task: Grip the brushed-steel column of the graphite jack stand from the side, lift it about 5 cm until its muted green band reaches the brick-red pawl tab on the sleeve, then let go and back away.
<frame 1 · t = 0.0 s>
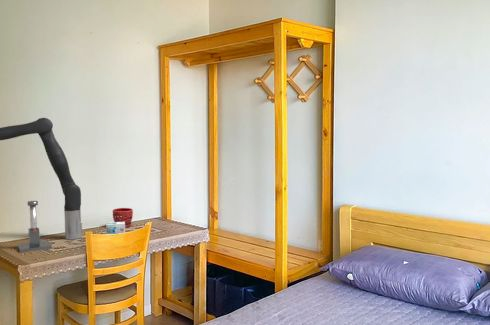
jack column: (33, 222, 258), point 14 cm above the table, slide at 0.0 cm
light bulb box: (116, 241, 272), on the table
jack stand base: (34, 247, 259), on the table
plant pot: (123, 227, 312), on the table
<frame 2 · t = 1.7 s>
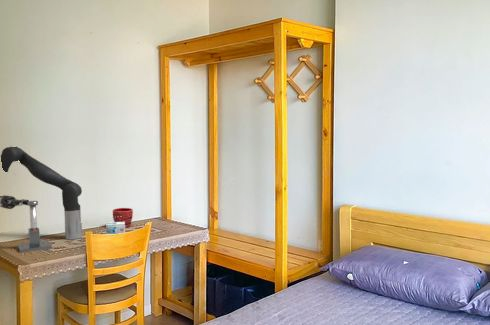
hand: (21, 204, 264), 23 cm above the table, tool horizontal, fingers open, 8 cm apart
nothing on the table moved.
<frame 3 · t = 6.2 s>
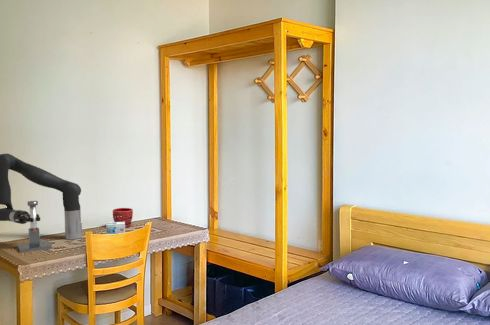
hand: (36, 219, 256), 16 cm above the table, tool horizontal, fingers closed on jack column, 3 cm apart
jack column: (33, 222, 258), point 14 cm above the table, slide at 0.0 cm, touching gripper
everything else where it was.
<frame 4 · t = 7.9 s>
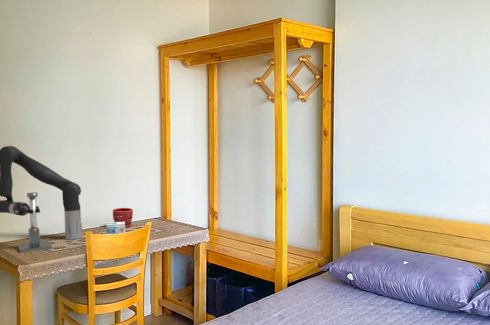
hand: (35, 211, 256), 21 cm above the table, tool horizontal, fingers closed on jack column, 3 cm apart
jack column: (33, 214, 258), point 19 cm above the table, slide at 4.7 cm, touching gripper
everything else where it was.
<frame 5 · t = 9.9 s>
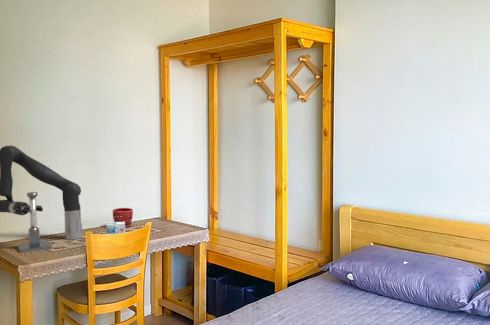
hand: (34, 210, 256), 21 cm above the table, tool horizontal, fingers open, 8 cm apart
jack column: (33, 214, 258), point 19 cm above the table, slide at 4.9 cm
everything else where it was.
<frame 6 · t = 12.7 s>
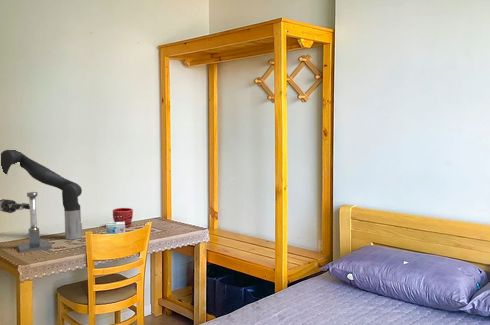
hand: (22, 208, 264), 21 cm above the table, tool horizontal, fingers open, 8 cm apart
nothing on the table moved.
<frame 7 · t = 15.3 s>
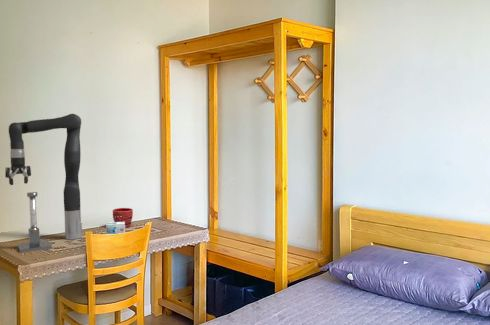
hand: (18, 184, 271), 34 cm above the table, tool pointing down, fingers open, 8 cm apart
nothing on the table moved.
at the end: jack column slide at 4.9 cm; the gripper is holding nothing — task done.
